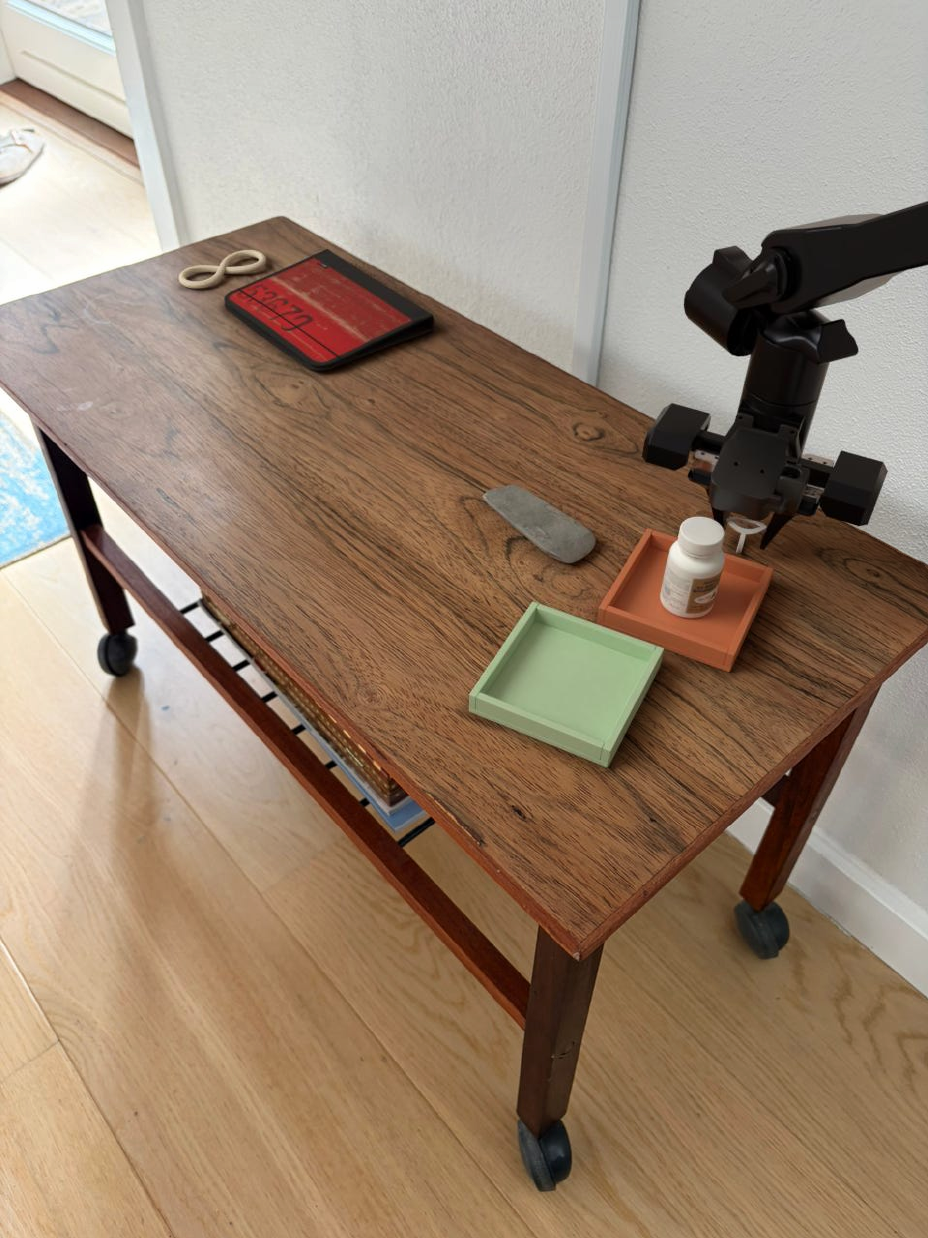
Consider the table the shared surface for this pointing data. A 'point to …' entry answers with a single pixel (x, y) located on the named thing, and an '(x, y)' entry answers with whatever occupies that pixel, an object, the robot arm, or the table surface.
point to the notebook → (327, 312)
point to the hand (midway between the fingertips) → (741, 540)
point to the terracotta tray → (701, 638)
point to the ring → (744, 529)
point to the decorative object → (222, 269)
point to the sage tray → (567, 682)
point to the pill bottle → (694, 568)
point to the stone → (542, 523)
